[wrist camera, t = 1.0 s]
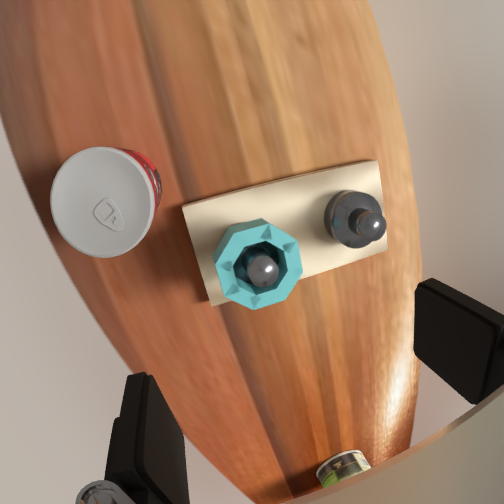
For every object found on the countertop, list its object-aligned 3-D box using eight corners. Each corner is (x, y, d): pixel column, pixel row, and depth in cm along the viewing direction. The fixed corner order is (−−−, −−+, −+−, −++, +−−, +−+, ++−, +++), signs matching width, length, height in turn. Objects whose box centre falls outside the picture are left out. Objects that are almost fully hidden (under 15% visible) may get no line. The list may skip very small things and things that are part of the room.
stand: (214, 229, 32) (225, 252, 24) (262, 216, 33) (288, 235, 25) (226, 275, 34) (241, 309, 26) (272, 261, 34) (298, 291, 27)
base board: (181, 205, 32) (182, 207, 31) (370, 159, 35) (377, 160, 34) (210, 300, 36) (211, 306, 34) (381, 246, 39) (387, 249, 37)
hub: (319, 196, 33) (344, 204, 28) (366, 184, 34) (395, 190, 29) (328, 248, 35) (352, 264, 30) (372, 234, 36) (400, 247, 31)
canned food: (138, 239, 32) (121, 278, 22) (75, 200, 29) (32, 222, 19) (177, 176, 31) (176, 185, 21) (113, 135, 28) (81, 126, 18)
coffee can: (307, 481, 52) (331, 534, 39) (330, 451, 50) (361, 507, 36) (347, 476, 55) (373, 522, 42) (371, 447, 53) (404, 495, 39)
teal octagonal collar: (205, 233, 27) (208, 240, 25) (283, 211, 28) (292, 216, 26) (226, 304, 30) (230, 317, 27) (297, 282, 31) (306, 292, 28)
